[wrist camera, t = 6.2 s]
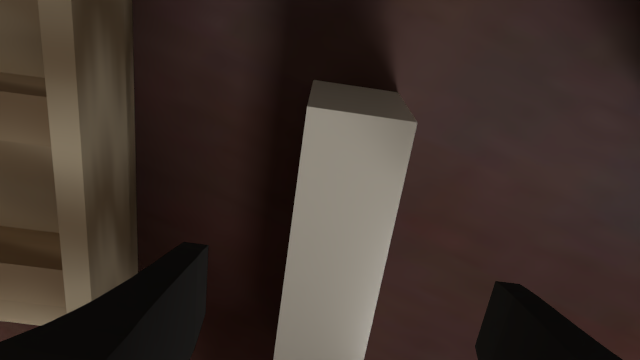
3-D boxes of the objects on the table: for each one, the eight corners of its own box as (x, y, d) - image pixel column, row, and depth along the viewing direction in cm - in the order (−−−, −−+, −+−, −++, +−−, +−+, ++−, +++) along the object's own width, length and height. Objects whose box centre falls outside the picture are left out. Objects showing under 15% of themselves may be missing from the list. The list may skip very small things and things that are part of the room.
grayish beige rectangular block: (346, 339, 24) (349, 422, 19) (279, 330, 24) (266, 411, 19) (397, 91, 19) (417, 122, 15) (313, 79, 19) (307, 106, 15)
